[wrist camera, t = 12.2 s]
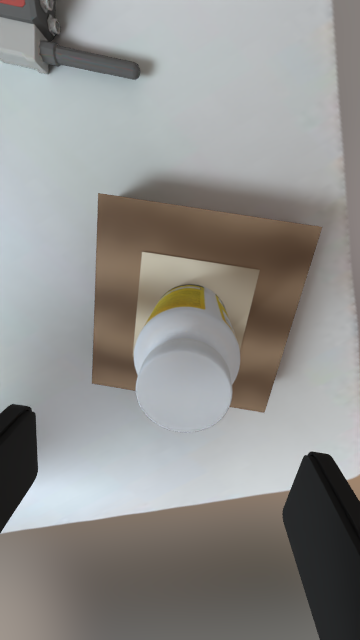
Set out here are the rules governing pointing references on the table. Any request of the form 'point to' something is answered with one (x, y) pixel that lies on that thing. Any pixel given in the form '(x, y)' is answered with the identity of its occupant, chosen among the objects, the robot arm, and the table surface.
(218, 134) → the table surface
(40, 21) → the walkie-talkie
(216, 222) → the stand
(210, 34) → the table surface
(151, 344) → the pill bottle
